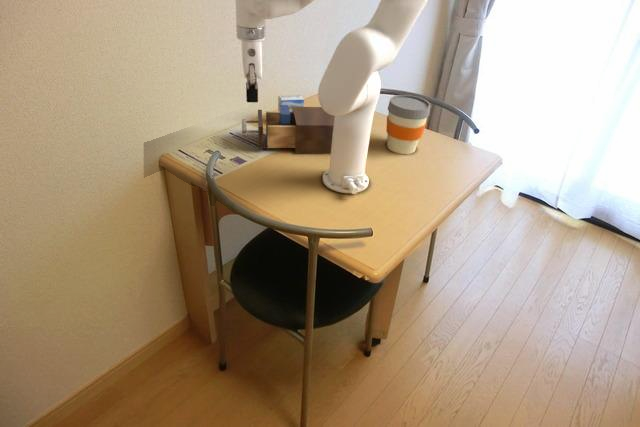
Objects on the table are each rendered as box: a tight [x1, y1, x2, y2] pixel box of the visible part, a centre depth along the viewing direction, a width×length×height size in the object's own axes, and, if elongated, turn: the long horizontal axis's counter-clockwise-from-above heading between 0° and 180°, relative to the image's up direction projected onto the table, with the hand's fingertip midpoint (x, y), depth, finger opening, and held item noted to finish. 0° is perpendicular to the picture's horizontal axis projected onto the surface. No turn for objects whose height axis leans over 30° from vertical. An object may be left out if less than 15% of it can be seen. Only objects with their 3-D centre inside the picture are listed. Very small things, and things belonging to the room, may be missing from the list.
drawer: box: [241, 109, 296, 151], centre depth 134 cm, size 22×12×7 cm, turn 98°
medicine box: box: [277, 95, 305, 112], centre depth 148 cm, size 8×4×9 cm, turn 105°
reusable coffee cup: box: [386, 94, 431, 155], centre depth 136 cm, size 13×13×15 cm
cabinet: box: [292, 106, 335, 155], centre depth 136 cm, size 19×14×9 cm
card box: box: [279, 105, 290, 126], centre depth 133 cm, size 3×7×9 cm, turn 8°
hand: (252, 98), depth 127 cm, fingers open, 3 cm apart
